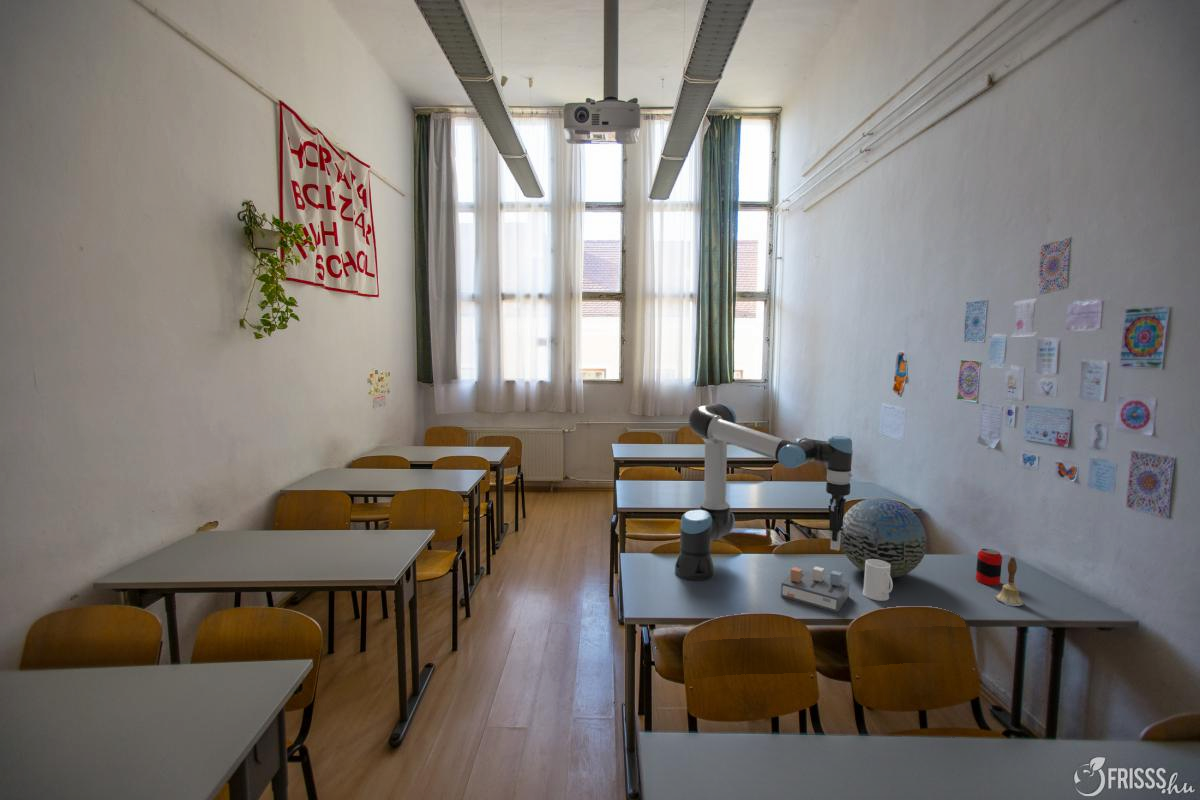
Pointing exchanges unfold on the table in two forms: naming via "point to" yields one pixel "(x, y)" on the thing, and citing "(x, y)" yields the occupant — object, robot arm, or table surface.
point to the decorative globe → (883, 535)
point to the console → (816, 592)
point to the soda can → (989, 567)
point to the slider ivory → (818, 574)
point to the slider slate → (836, 578)
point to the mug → (877, 580)
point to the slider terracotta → (796, 574)
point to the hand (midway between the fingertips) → (835, 549)
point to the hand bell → (1010, 586)
